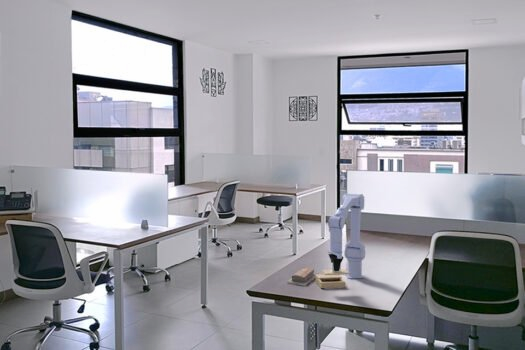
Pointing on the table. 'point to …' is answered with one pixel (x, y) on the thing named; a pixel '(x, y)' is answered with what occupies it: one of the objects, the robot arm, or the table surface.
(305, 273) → the packaged product
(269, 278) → the table surface
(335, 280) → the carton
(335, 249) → the robot arm
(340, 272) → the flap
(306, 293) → the table surface
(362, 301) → the table surface
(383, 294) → the table surface
